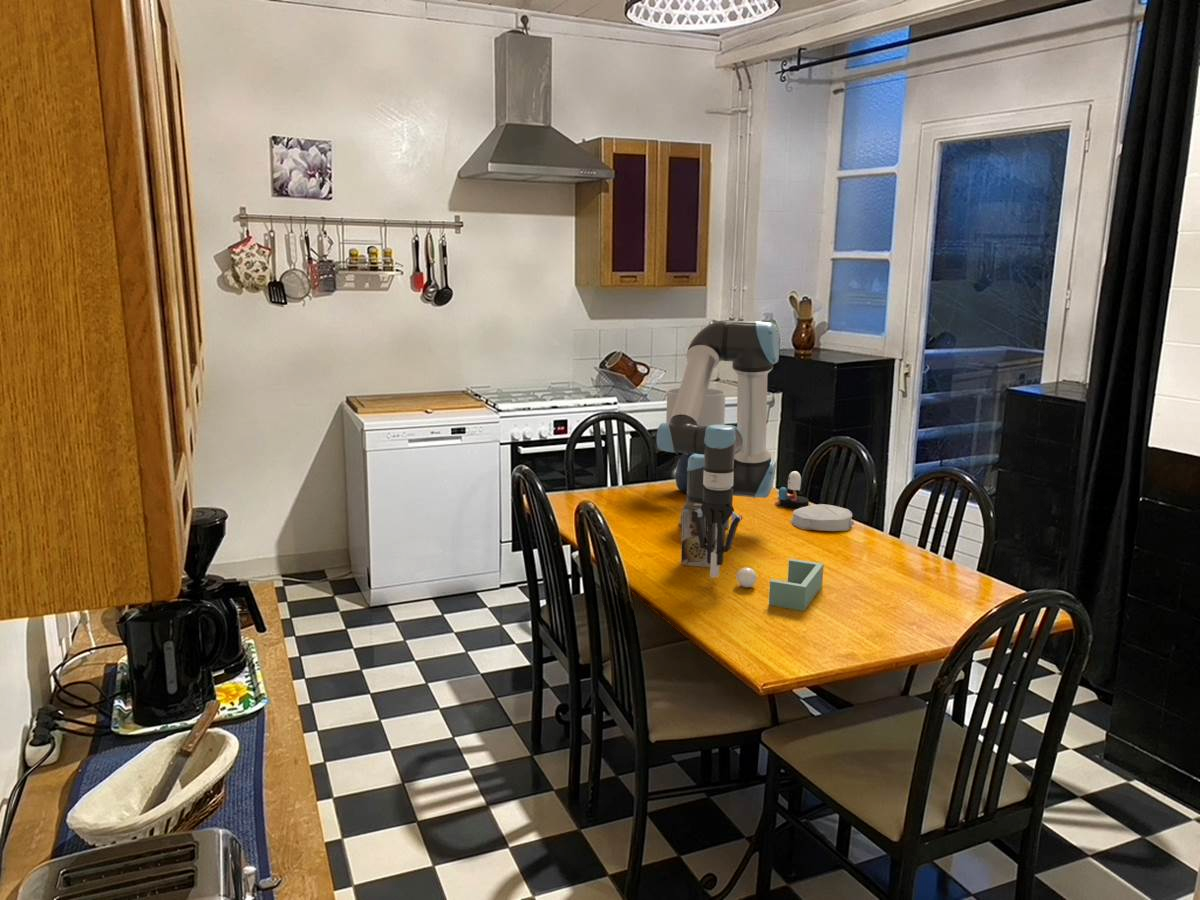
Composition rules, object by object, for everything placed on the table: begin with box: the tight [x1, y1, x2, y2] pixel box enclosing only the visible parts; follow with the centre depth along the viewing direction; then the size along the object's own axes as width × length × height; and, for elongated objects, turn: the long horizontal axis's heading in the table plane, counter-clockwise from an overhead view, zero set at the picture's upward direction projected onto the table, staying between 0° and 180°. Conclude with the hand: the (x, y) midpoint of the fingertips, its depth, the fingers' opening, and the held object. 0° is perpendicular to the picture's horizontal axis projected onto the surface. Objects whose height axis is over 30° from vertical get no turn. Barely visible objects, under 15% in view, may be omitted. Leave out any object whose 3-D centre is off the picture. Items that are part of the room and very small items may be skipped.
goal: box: [768, 558, 824, 612], centre depth 222 cm, size 8×19×6 cm, turn 154°
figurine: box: [774, 470, 810, 510], centre depth 305 cm, size 10×11×12 cm
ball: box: [736, 567, 758, 588], centre depth 227 cm, size 5×5×5 cm
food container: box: [789, 503, 855, 532], centre depth 284 cm, size 20×20×7 cm
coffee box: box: [680, 502, 717, 569], centre depth 244 cm, size 9×6×16 cm
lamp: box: [665, 387, 726, 494], centre depth 319 cm, size 20×20×37 cm
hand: (714, 576), depth 231 cm, fingers closed
